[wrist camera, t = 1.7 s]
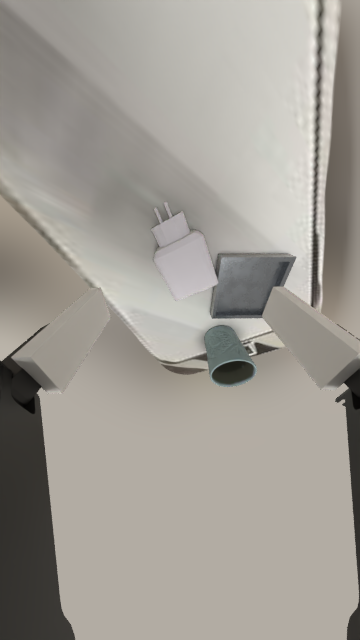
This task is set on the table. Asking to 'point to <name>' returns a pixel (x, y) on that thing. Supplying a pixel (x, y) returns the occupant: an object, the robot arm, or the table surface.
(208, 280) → the charger
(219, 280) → the gray square tray
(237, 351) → the green cup
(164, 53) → the table surface
